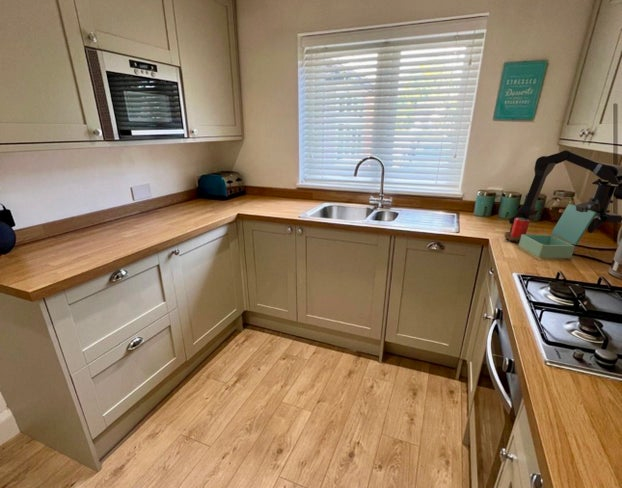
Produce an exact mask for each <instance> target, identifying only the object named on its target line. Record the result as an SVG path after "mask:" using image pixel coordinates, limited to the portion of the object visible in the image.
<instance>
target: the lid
mask: <svg viewBox="0 0 622 488" xmlns="http://www.w3.org/2000/svg"><path fill="white" fill-rule="evenodd" d="M596 214H597V213H596V212H593V211H590V210H587V212H579V211H576V205H574V204H570V203H568V205H567V206H566V207H565V210H564V211H563V213H562V214H561V216H560V217H559V219H558V221H557V223H556V224H555V226H554V227H553V229H552V231H551V233H550V235H552V236H554V237H557V238H559V239H561V240H563V241H565V242H567V243H570V244H572V245H574V246H578V243H579V242H580V240H581V239H582V237H583V236H584V234H585V233H586V231H587V230H588V226H589V225H590V223H591V221H592V220H593V218H594V217H595V215H596Z"/></svg>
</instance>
